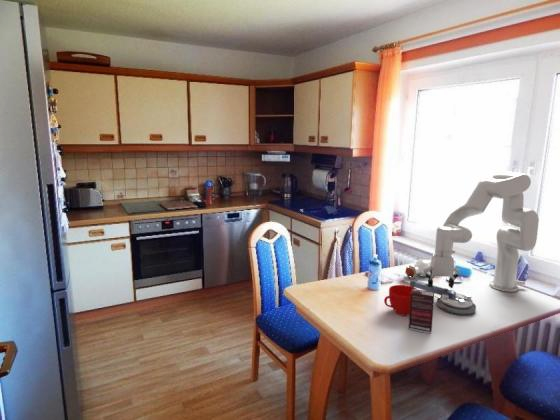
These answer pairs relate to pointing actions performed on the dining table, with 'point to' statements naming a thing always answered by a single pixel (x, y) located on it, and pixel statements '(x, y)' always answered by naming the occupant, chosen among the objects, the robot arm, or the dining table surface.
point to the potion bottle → (418, 268)
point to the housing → (455, 311)
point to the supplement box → (421, 310)
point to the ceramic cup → (400, 298)
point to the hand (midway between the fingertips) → (440, 286)
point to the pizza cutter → (445, 295)
